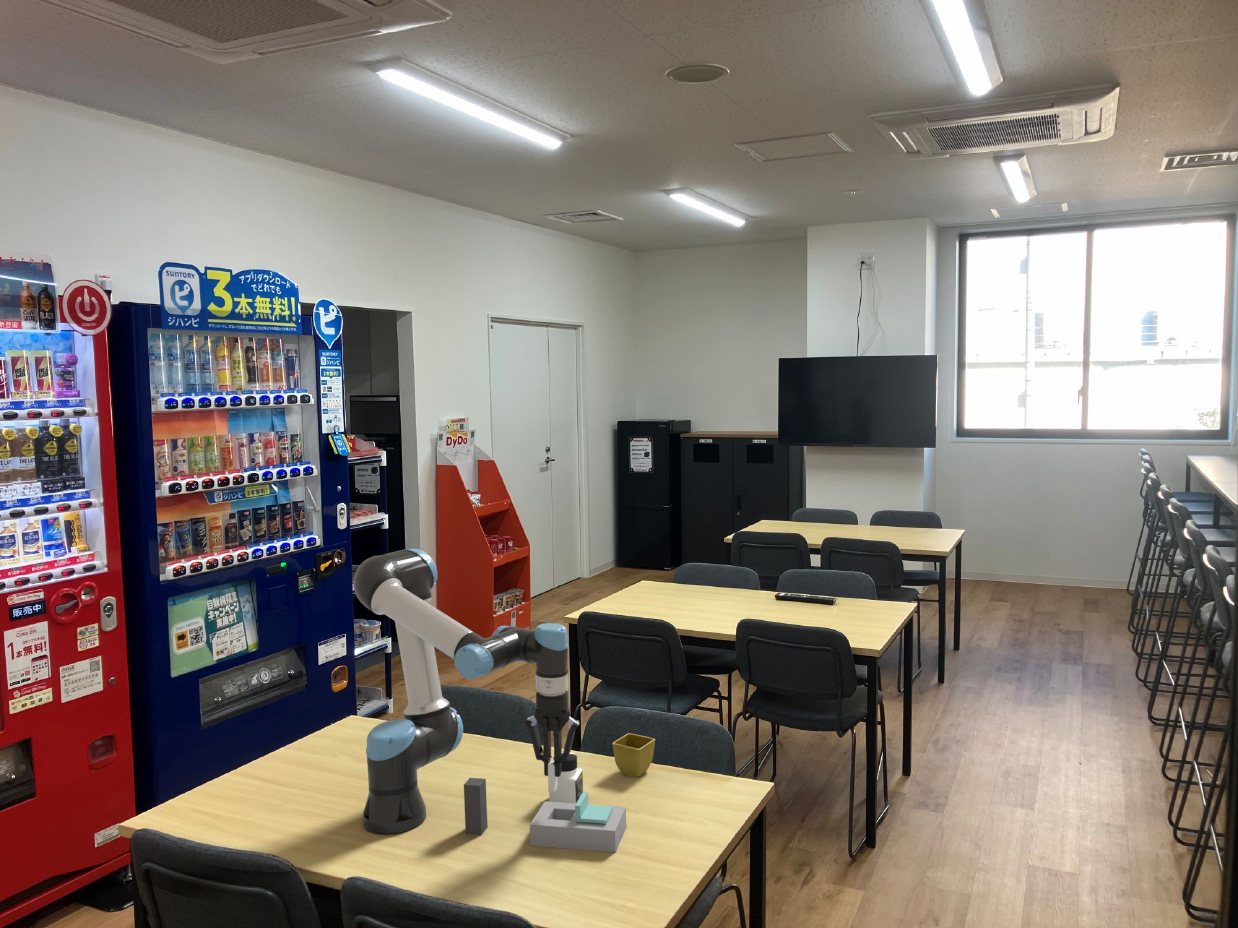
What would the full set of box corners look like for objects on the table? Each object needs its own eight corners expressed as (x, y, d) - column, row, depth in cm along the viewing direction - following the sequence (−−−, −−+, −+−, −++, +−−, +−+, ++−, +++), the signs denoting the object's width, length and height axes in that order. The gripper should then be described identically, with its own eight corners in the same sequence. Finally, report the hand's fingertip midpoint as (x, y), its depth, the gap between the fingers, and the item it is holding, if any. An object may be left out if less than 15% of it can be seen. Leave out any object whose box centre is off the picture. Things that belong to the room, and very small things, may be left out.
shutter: (575, 821, 211) (575, 805, 210) (583, 807, 218) (582, 791, 217) (606, 823, 209) (605, 807, 209) (612, 809, 216) (612, 793, 216)
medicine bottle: (576, 807, 230) (575, 760, 229) (549, 805, 231) (547, 759, 230) (583, 794, 237) (582, 749, 236) (556, 793, 238) (555, 748, 237)
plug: (465, 833, 217) (463, 784, 216) (471, 825, 221) (469, 777, 220) (481, 834, 216) (479, 785, 215) (487, 826, 220) (485, 778, 219)
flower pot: (656, 770, 251) (656, 738, 250) (640, 782, 243) (639, 749, 243) (629, 763, 255) (628, 732, 255) (612, 775, 248) (611, 743, 247)
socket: (530, 845, 211) (529, 824, 210) (545, 821, 222) (544, 801, 222) (615, 852, 207) (615, 830, 206) (626, 827, 218) (625, 806, 218)
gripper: (520, 694, 211) (521, 793, 213) (575, 698, 208) (575, 798, 210) (529, 683, 218) (531, 779, 220) (583, 687, 215) (583, 784, 218)
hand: (552, 788), depth 215 cm, fingers closed
